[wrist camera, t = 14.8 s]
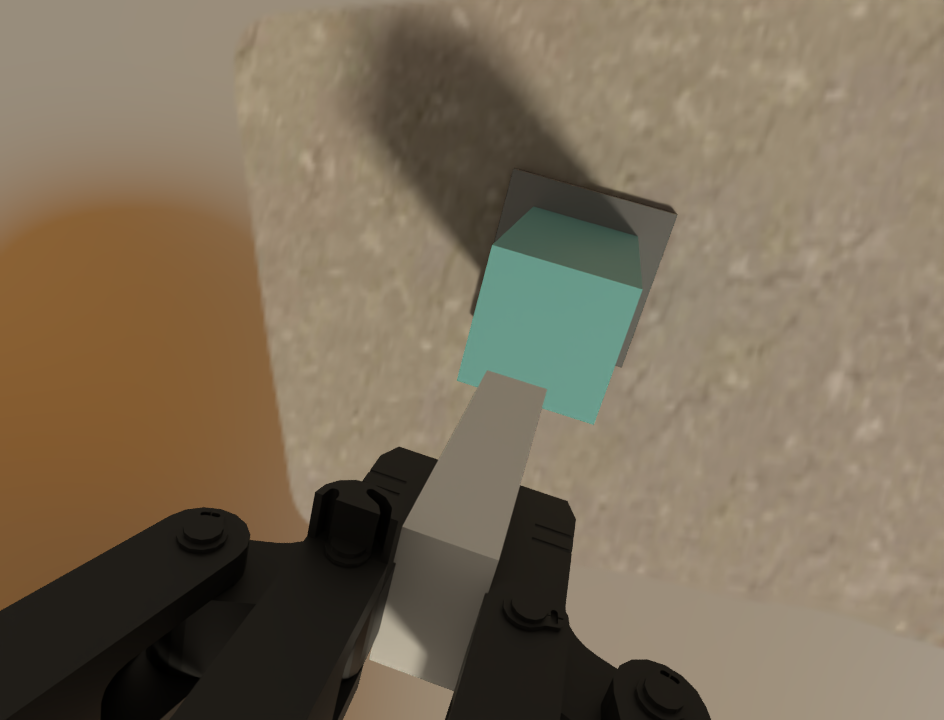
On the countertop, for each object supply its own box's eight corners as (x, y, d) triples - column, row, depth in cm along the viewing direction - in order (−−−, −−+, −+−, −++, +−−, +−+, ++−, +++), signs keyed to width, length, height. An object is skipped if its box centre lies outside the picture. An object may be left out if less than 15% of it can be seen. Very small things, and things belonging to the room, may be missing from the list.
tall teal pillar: (638, 236, 31) (642, 289, 22) (603, 335, 33) (593, 424, 24) (533, 206, 32) (491, 244, 22) (505, 305, 34) (456, 380, 24)
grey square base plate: (676, 213, 31) (690, 240, 24) (621, 364, 34) (620, 426, 27) (514, 168, 32) (484, 181, 25) (475, 319, 35) (438, 367, 28)
